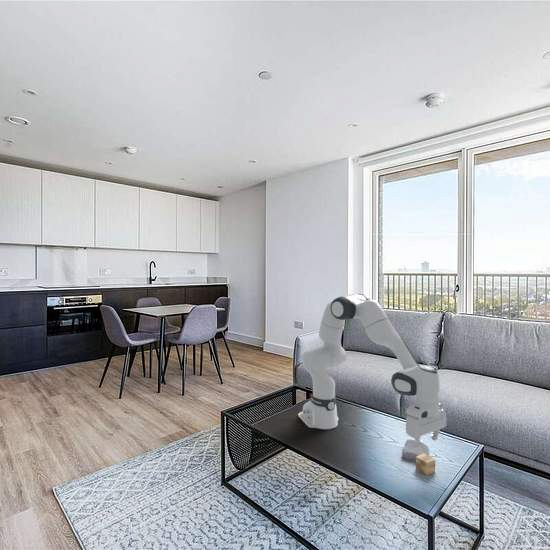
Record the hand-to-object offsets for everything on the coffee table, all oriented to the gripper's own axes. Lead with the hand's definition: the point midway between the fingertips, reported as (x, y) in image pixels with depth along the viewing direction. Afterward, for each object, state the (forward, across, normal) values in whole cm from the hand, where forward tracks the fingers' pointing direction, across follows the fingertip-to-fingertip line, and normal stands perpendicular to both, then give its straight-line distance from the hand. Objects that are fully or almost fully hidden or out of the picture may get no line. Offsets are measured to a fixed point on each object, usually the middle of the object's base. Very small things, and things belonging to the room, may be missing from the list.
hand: (426, 442), depth 136 cm
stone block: (+12, -6, -10) cm, 16 cm away
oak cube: (+11, 0, -1) cm, 11 cm away
